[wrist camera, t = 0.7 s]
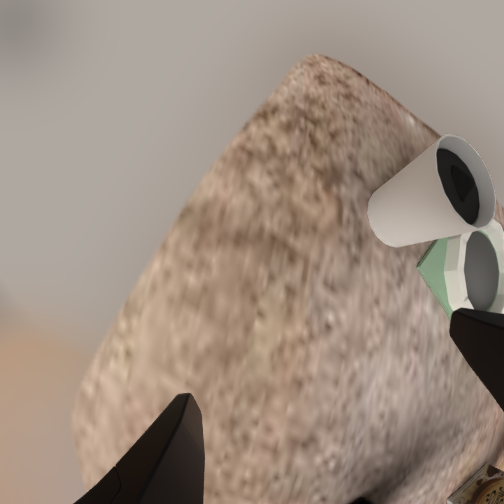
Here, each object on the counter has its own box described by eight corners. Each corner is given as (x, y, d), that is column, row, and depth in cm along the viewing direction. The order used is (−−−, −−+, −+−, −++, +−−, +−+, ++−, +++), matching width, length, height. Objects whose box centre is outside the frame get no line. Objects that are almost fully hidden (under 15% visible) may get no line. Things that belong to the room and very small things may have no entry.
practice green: (524, 310, 24) (536, 310, 22) (486, 387, 22) (500, 391, 20) (464, 190, 25) (479, 183, 22) (416, 267, 23) (433, 264, 20)
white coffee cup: (386, 169, 24) (451, 118, 14) (429, 219, 24) (503, 190, 14) (349, 212, 23) (419, 167, 13) (397, 267, 23) (480, 252, 13)
